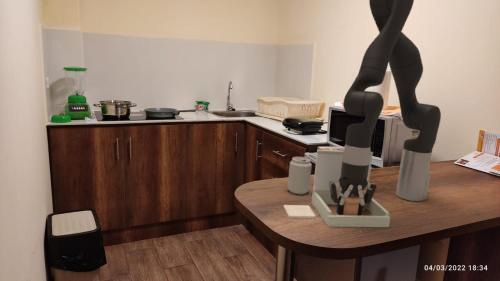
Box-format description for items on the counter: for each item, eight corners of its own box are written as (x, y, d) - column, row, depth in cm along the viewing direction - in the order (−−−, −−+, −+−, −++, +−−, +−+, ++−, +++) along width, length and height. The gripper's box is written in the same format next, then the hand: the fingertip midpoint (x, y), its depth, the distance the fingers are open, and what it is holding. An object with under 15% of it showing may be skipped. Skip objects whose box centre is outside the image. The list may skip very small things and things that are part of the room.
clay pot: (354, 214, 112) (357, 186, 110) (361, 222, 107) (365, 193, 105) (335, 214, 112) (339, 186, 110) (342, 222, 106) (346, 193, 104)
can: (308, 196, 125) (311, 162, 122) (286, 193, 126) (289, 160, 124) (309, 189, 132) (312, 157, 130) (288, 186, 134) (291, 154, 131)
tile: (308, 207, 116) (308, 205, 116) (315, 218, 108) (315, 216, 108) (283, 206, 115) (283, 205, 115) (288, 217, 107) (289, 215, 107)
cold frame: (364, 203, 122) (371, 151, 118) (388, 227, 105) (398, 167, 101) (311, 202, 120) (317, 149, 116) (328, 226, 103) (335, 165, 99)
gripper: (374, 157, 110) (366, 211, 114) (327, 156, 108) (321, 210, 112) (385, 165, 103) (377, 221, 106) (336, 163, 101) (329, 221, 105)
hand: (348, 215), depth 109 cm, fingers closed on clay pot, 4 cm apart
